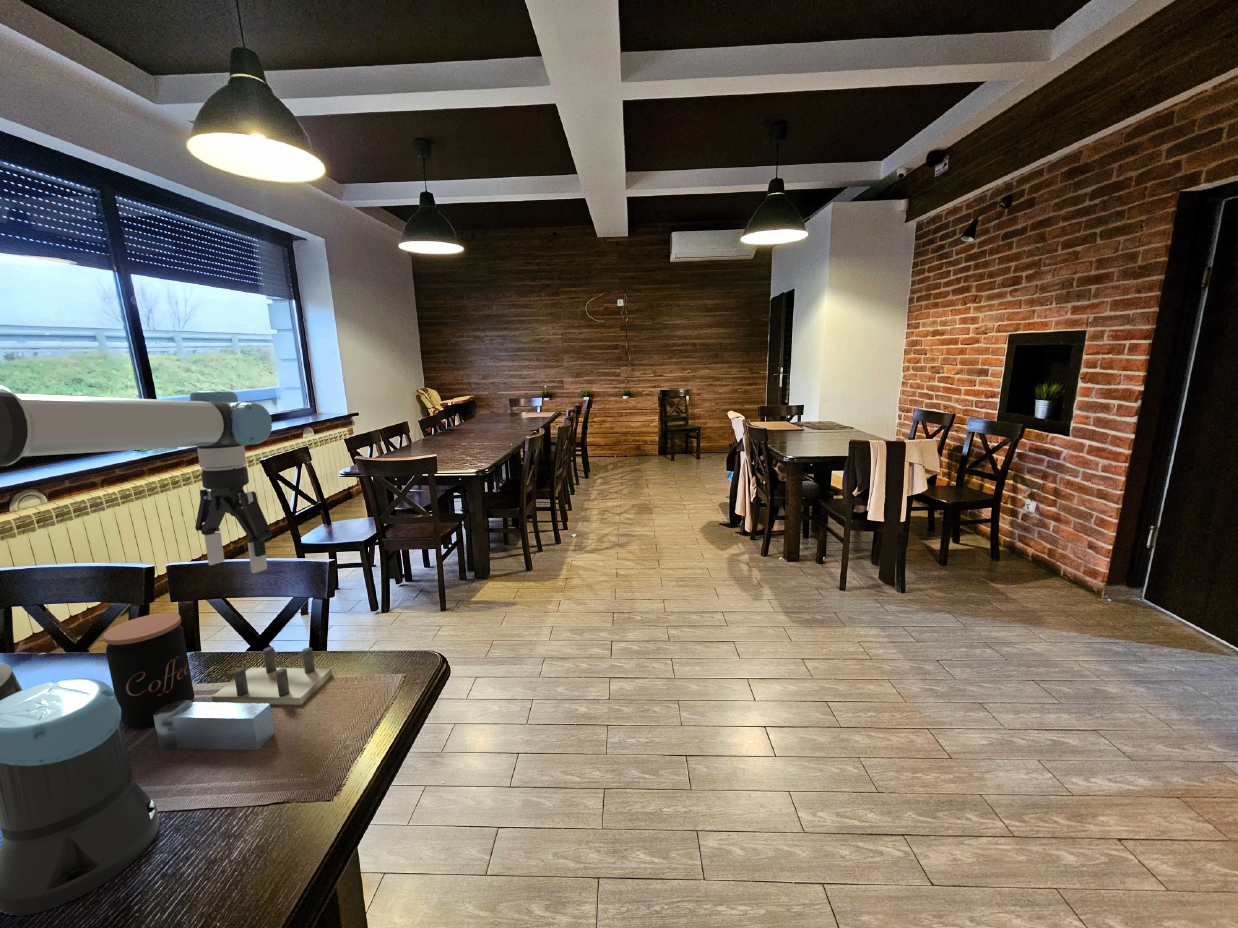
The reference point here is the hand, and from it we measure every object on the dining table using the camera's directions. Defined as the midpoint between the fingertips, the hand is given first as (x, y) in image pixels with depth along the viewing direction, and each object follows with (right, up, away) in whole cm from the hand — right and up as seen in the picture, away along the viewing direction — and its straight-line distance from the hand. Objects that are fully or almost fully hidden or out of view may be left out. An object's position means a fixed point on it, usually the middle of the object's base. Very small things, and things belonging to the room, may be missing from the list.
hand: (237, 567), depth 106 cm
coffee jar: (-8, -26, -9) cm, 29 cm away
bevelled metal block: (+9, -27, -17) cm, 33 cm away
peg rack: (+9, -25, -2) cm, 26 cm away
